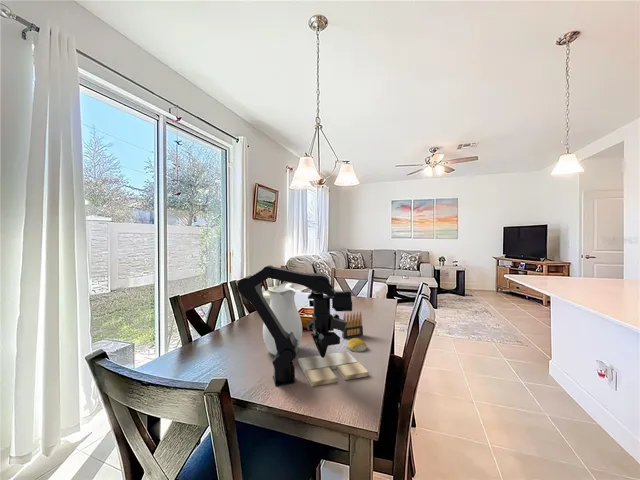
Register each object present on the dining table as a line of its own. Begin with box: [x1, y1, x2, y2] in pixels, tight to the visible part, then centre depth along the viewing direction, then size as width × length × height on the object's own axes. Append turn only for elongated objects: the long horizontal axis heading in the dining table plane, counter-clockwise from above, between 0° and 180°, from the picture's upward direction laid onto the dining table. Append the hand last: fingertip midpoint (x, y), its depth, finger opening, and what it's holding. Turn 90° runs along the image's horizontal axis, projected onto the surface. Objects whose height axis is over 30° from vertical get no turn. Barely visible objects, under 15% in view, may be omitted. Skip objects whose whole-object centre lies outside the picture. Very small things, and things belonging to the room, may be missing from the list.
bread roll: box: [346, 337, 368, 353], centre depth 126 cm, size 8×9×4 cm
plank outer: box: [336, 362, 370, 381], centre depth 103 cm, size 9×8×2 cm
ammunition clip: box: [341, 311, 364, 340], centre depth 140 cm, size 11×2×12 cm, turn 112°
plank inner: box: [304, 367, 338, 387], centre depth 99 cm, size 9×8×2 cm
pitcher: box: [262, 282, 303, 356], centre depth 126 cm, size 24×17×28 cm
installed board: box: [297, 351, 359, 375], centre depth 110 cm, size 21×10×2 cm, turn 108°
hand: (322, 356), depth 97 cm, fingers closed
